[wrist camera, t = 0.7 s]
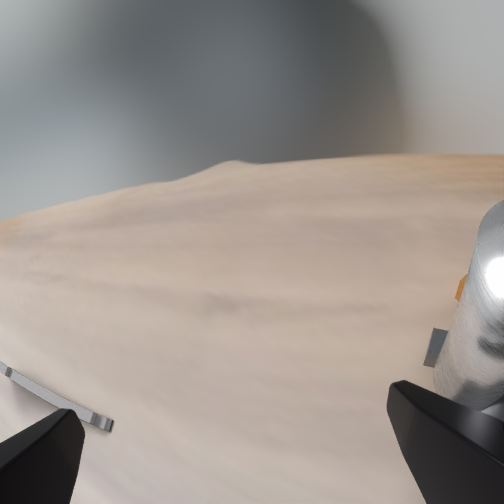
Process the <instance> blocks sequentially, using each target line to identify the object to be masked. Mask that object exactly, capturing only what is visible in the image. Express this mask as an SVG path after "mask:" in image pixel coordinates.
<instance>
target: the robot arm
mask: <svg viewBox="0 0 504 504" xmlns="http://www.w3.org/2000/svg"><path fill="white" fill-rule="evenodd" d="M387 413H388V416H389V418H390V421H391V424H392V426H393V429H394V432H395V435H396V438H397V440H398V443H399V446H400V449H401V451H402V454H403V456H404V458H405V460H406V462H407V464H408V466H409V468H410V470H411V472H412V474H413V476H414V479H415V481H416V483H417V485H418V487H419V489H420V491H421V493H422V495H423V497H424V499H425V501H426V503H427V504H504V421H501V420H500V419H497V418H495V417H492V416H490V415H487V414H485V413H482V412H480V411H477V410H475V409H472V408H470V407H467V406H465V405H462V404H460V403H457V402H455V401H453V400H450V399H448V398H445V397H443V396H441V395H438V394H436V393H434V392H431V391H429V390H427V389H424V388H422V387H420V386H417V385H415V384H413V383H411V382H408V381H406V380H401V381H397V382H394V383H392V384H391V385H390V388H389V394H388V400H387ZM84 439H85V431H84V428H83V426H82V424H81V422H80V420H79V418H78V416H77V414H76V412H75V411H74V410H73V409H67V408H61V409H59V410H57V411H55V412H54V413H52V414H50V415H49V416H47V417H45V418H43V419H42V420H40V421H38V422H37V423H35V424H33V425H31V426H30V427H28V428H26V429H24V430H23V431H21V432H19V433H17V434H16V435H14V436H12V437H10V438H9V439H7V440H5V441H3V442H1V443H0V504H70V500H71V496H72V493H73V489H74V486H75V482H76V479H77V475H78V470H79V465H80V459H81V454H82V449H83V444H84Z"/></svg>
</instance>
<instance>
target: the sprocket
mask: <svg viewBox="0 0 504 504" xmlns="http://www.w3.org/2000/svg"><path fill="white" fill-rule="evenodd" d="M455 298H456V299H457V300H458V301H459V303H458V306H457V309H456V312H455V315H454V318H453V321H452V323H451V326H450V329H449V331H446V330H441V329H436V328H434V329H433V332H432V335H431V339H430V342H429V346H428V350H427V353H426V357H425V361H424V364H423V365H425V366H429V367H434V376H433V377H434V385H435V389H436V392H437V394H438V395H441V396H443V397H445V398H448V399H450V400H453V401H455V402H457V403H460V404H462V405H465V406H467V407H470V408H472V409H475V410H477V411H480V412H482V413H485V414H487V415H490V416H492V417H495V418H497V419H500V420H501V421H504V200H503V201H501V202H499V203H498V204H496V205H494V206H493V207H492V208H491V209H490V210H489V211H488V212H487V213H486V215H485V216H484V218H483V220H482V222H481V224H480V227H479V231H478V236H477V240H476V244H475V248H474V252H473V256H472V260H471V264H470V268H469V271H468V274H467V275H466V276H465V277H464V278H463V279H461V280H460V282H459V286H458V290H457V293H456V296H455Z"/></svg>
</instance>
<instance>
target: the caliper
mask: <svg viewBox="0 0 504 504" xmlns="http://www.w3.org/2000/svg"><path fill="white" fill-rule="evenodd" d="M0 372H1V373H3V374H4V375H6V376H7V377H9V378H10V379H12V380H13V381H15V382H16V383H18V384H19V385H21V386H23V387H24V388H26V389H27V390H29V391H31V392H32V393H34V394H36V395H37V396H39V397H41V398H42V399H44V400H46V401H48V402H49V403H51V404H53V405H55V406H57V407H58V408H60V409H61V408H67V409H73V410H74V411H75V412H76V414H77V416H78V418H80V419H82V420H84V421H86V422H88V423H90V424H93V425H95V426H97V427H100V428H102V429H104V430H107V431H109V429H110V426H111V423H112V420H111V419H108V418H106V417H104V416H101V415H99V414H97V413H94V412H92V411H90V410H88V409H86V408H83V407H81V406H79V405H77V404H75V403H73V402H71V401H69V400H67V399H65V398H63V397H61V396H59V395H57V394H55V393H53V392H51V391H49V390H47V389H46V388H44V387H42V386H40V385H38V384H37V383H35V382H33V381H31V380H30V379H28V378H26V377H24V376H23V375H21V374H19V373H18V372H17V371H15V370H13V369H12V368H10V367H8V366H7V365H5V364H4V363H2V362H1V361H0Z"/></svg>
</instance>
